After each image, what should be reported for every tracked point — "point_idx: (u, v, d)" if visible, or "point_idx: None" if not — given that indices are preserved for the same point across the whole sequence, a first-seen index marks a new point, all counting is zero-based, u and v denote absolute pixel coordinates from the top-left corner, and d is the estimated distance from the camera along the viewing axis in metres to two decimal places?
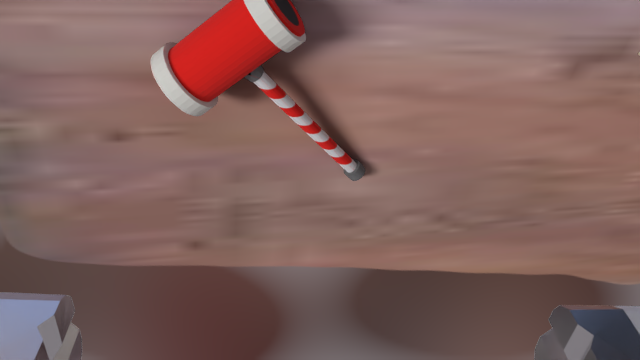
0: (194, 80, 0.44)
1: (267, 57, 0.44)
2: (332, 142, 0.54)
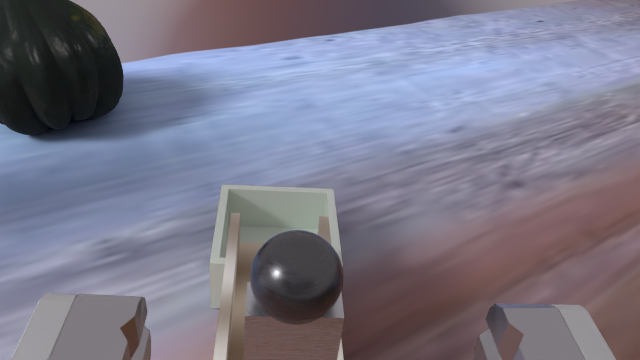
0: None
1: None
2: None
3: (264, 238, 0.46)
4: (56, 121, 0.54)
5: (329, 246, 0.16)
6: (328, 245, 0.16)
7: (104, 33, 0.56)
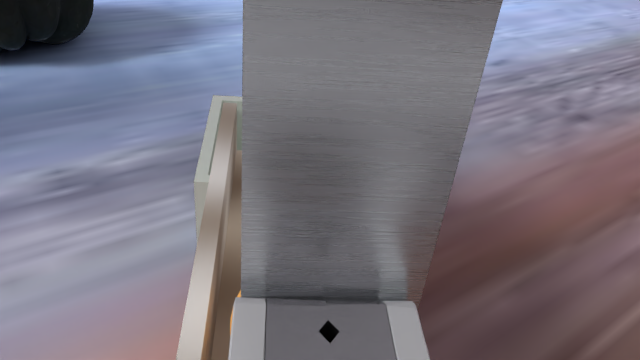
0: None
1: None
2: None
3: None
4: (6, 36, 0.43)
5: None
6: None
7: None
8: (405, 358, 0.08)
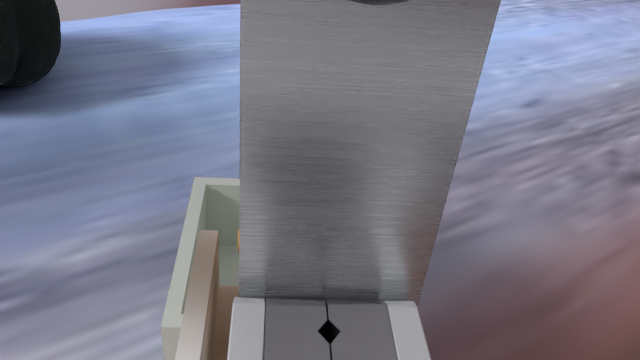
0: None
1: None
2: None
3: None
4: None
5: None
6: None
7: None
8: (406, 358, 0.08)
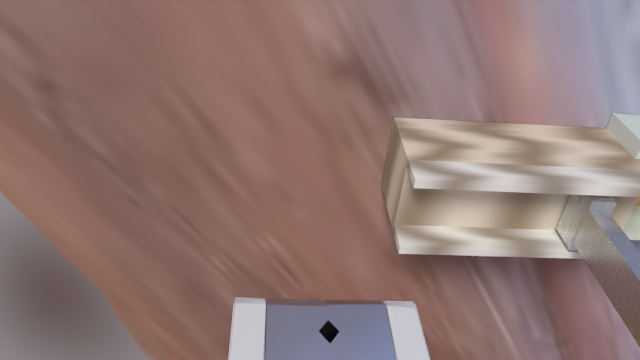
0: None
1: None
2: None
3: None
4: None
5: None
6: None
7: None
8: (405, 358, 0.08)
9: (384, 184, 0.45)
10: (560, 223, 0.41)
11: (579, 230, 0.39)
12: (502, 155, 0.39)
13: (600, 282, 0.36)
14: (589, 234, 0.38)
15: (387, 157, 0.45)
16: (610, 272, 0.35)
